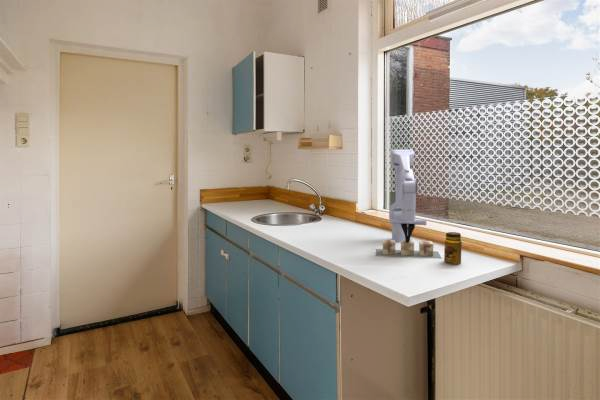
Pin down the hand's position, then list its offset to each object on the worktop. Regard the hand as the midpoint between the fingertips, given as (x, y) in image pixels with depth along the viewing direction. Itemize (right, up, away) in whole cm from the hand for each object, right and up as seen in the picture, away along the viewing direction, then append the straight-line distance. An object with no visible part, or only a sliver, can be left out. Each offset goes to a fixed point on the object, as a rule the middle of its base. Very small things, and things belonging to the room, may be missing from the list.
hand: (407, 241), depth 161 cm
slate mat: (0, -6, +1) cm, 6 cm away
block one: (-7, -5, +2) cm, 9 cm away
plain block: (0, -5, +1) cm, 5 cm away
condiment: (+14, -7, -12) cm, 20 cm away
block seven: (+7, -5, -1) cm, 9 cm away
